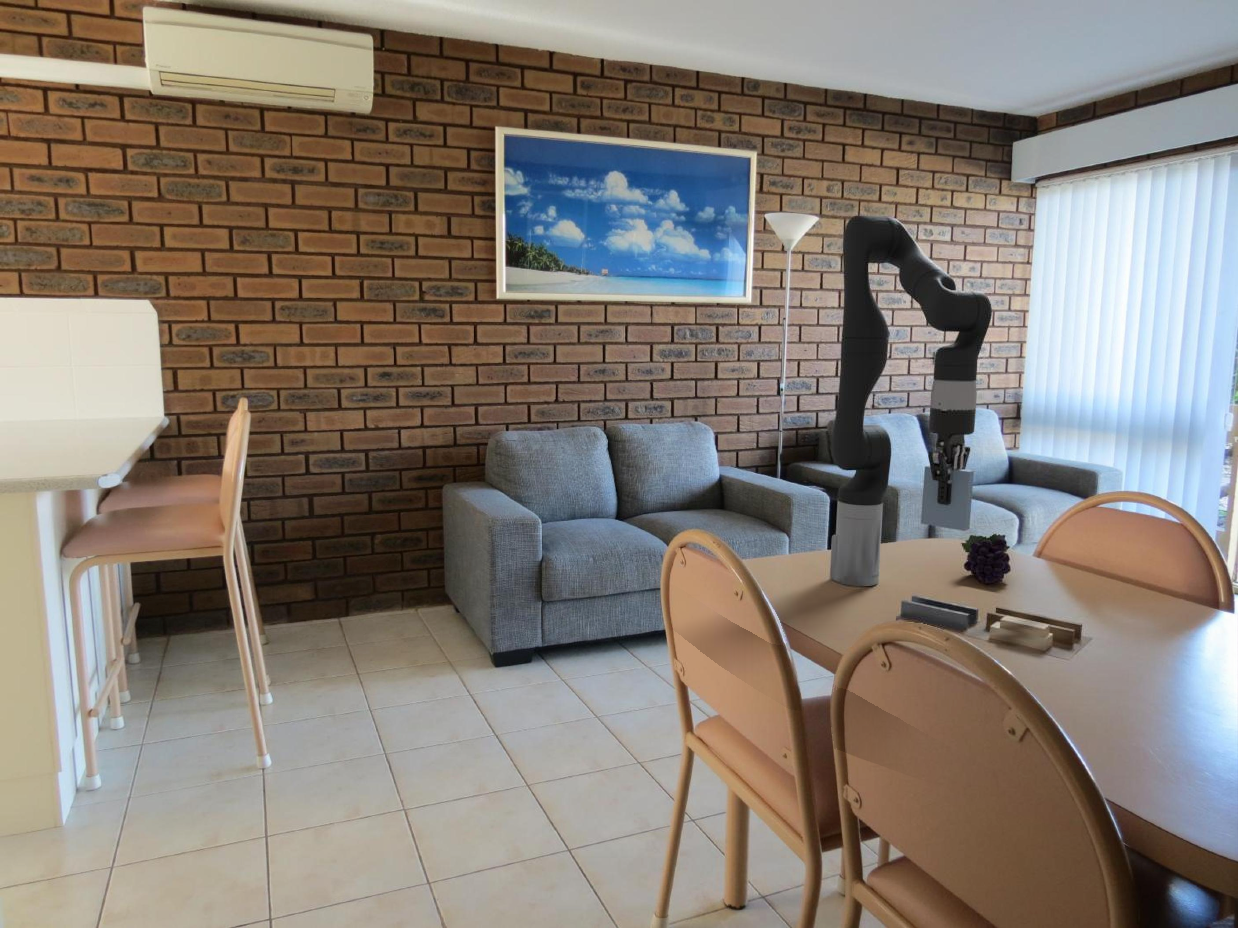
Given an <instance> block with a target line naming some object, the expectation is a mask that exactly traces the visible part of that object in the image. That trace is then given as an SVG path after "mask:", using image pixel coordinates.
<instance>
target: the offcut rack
mask: <svg viewBox="0 0 1238 928" xmlns="http://www.w3.org/2000/svg"><path fill="white" fill-rule="evenodd" d="M1006 615H1007V616H1012V617H1016V618H1021V619H1026V620H1030V621H1035V622H1040V623H1044V624H1049V625H1050V632H1049V633H1052V634H1053V640H1052V646H1051V647H1049V648H1048V649H1047V650H1046V651H1045V650H1040V649H1036V648H1032V647H1028V646H1023V645H1019V644H1015V643H1010V642H1006V641H1002V640H998V639H993V638H989V634H990V626H991V625H993V624H994V623H996V622H997V621H998V622H1000V619H1002V618H1003V617H1005V616H1006ZM1082 631H1083V623H1080V622H1076V621H1070V620H1067V619H1061V618H1056V617H1052V616H1047V615H1042V614H1037V613H1032V612H1028V611H1023V610H1018V609H1013V608H1009V607H1003V606H999V605H997V606H995V612H992V611H988V612H987V613H986V619H984V620H981V622H978V623H976V625H975V626H974V625H973V626H972V627H970V628H969V629H968V630H967V631H966V630H965V631H964V633H963V632H962V633H961V635H962V636H966V637H969V638H975V639H978V640H982V641H986V642H992V643H995V644H999V645H1002V646H1003V645H1004V646H1008V647H1012V648H1016V649H1020V650H1025V651H1027V652H1028V651H1029V652H1033V653H1037V654H1041V655H1046V656H1049V657H1050V656H1051V657H1054V658H1057V659H1062V660H1067V661H1070V660H1071V659H1072V658H1073V657H1075V655H1077V653H1078V652H1079V651H1081V650H1082V649H1083V648H1084V647H1085V646H1086V645H1087V644H1088V643H1090V641H1092V640H1093V638H1094V637H1089V636H1086V635H1082V634H1083V633H1082Z"/></svg>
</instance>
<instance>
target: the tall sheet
mask: <svg viewBox="0 0 1238 928" xmlns="http://www.w3.org/2000/svg"><path fill="white" fill-rule="evenodd" d="M974 475H975V470H972V469H966V468H965V469H956V470H955V471H953V481H952V489H951V503H950V504H949V505H944V504H939V503H938V502H937V497H938V483H937V481H936V480H933V478H932V473H931V468H930V464H929V465H925V466H924V473H923V476H924V477H923V485H922V487H923V489H922V502H921V503H922V504H921V516H920V524H921V525H927V526H933V527H938V528H939V527H940V528H945V529H952V530H956V531H957V530H958V531H962V532H965V531H968V530H970V523H971V511H972V500H973V498H972V497H973V489H974V488H973V487H974Z"/></svg>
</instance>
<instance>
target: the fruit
mask: <svg viewBox="0 0 1238 928" xmlns="http://www.w3.org/2000/svg"><path fill="white" fill-rule="evenodd" d="M960 545H961V548H963V550H964V552H965V553H967V556H966V561H965V563H964V564H963V568H964V570H966V571H967V572H970V574H971V575H972V576H974V577H977V578H978V579H979V581H981V583H982V584H984V585H985V584H993V583H995V581H1001V580H1003V579H1004V578H1005V575H1008V573H1010V572H1011V570H1012V569H1011V565H1010V563H1009V562H1010V561H1011V559H1010V558H1011V557H1010V555H1009V553H1007V552H1008V550H1009V549H1010V548H1011V546H1009V545H1007V540H1006V534H1002V535H1001V534H999V533H998V534H997V533H993V534H992V535H990V536H989V537H987V536H983V535H976V534H975V535H973V534H970V535H969V538H968V539H967V540H966V539H965V542H960Z"/></svg>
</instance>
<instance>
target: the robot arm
mask: <svg viewBox="0 0 1238 928" xmlns="http://www.w3.org/2000/svg"><path fill="white" fill-rule="evenodd" d="M842 239H843V240H842V262H843V266H842V267H843V289H844V290H843V313H842V315H843V317H842V329H841V330H842V331H841V341H840V342H841V344H840V345H841V346H840V369H839V370H840V371H839V385H838V395H837V396H838V397H837V398H838V399H837V403H836V404H837V406H836V412H835V419H834V425H833V432H832V438H831V452H832V458H833V460H834V463H835V464H836V466H837V467H838V468H839V469H841V470H843V471H855V473H854V475H853V476H852V478H851V479H850V480H848V481H847V482H845V483H843V484H842V485H841V486H840V487H839V488H838V490H837V506H836V507H837V509H836V525H835V526H836V528H835V533H834V534H833V535H832V536H831V543H830V544H831V545H830V547H831V549H830V566H829V567H830V568H829V579H830V580H834V581H835V582H837V583H839V584H842V585H847V586H853V587H872V586H876V585H878V583H879V582H880V581H879V580H880V579H879V577H880V563H881V561H880V560H881V547H882V546H881V545H882V544H881V543H882V542H881V541H882V530H883V529H882V526H883V509H884V498H885V497H884V496H885V495H886V492H887V490H888V485H889V477H890V469H891V461H892V460H891V459H892V443H891V438H890V437H891V436H890V435H889V433H888V431H887V430H886V429H885V428H884V427H883V426H880V425H877V424H867V425H866V424H865V425H864V423H865V422H864V419H865V410H866V406H867V402H868V400H869V397H870V395H871V393H872V391H873V389H874V388H875V386H876V385H877V382H878V381H879V379H880V377H882V376H881V375H882V374H883V372H884V370H885V368H886V366H887V361H888V353H889V352H888V351H889V350H888V349H889V335H890V332H889V327H888V324H887V321H886V318H885V317H884V313H883V312H882V310H881V308H880V306H879V305H878V302H877V301H876V298H875V297H874V295H873V292H872V290H871V284H870V276H869V274H870V273H869V264H878V265H879V264H880V265H881V264H890V265H892V266H894V267H896V268H897V269H899V270H898V279H899V282H900V285H901V287H902V289H903V291H904V292H906V293H907V294H908V295H909V296H910V297H911V298H912V299H913V300H914V301H915V302H916V303H917V304H919V306H920V308H921V311H922V313H923V315H924V317H925V320H926V322H927V323H928V325H929V326H930V327H932V328H933V329H935V330H937V331H940V332H947V333H948V332H949V333H951V332H953V333H955V332H958V333H957V336H956V338H955V340H954V342H953V343H951V344H950V345H945V346H941V347H940V348H937V350H936V351H935V354H934V364H933V365H934V366H933V381H932V387H931V391H930V405H929V421H928V423H929V424H928V431H929V432H930V433H933V434H936V435H937V438H936V440H935V441H936V442H935V446H934V451H929V452H928V461H929V465H930V468H931V473H932V478H933V480H936V481H937V483H938V497H937V502H938V503H939V504H944V505H949V504H950V503H951V489H952V481H953V471H955V470H956V469H965V470H966V467H967V464H968V461H969V456H970V453H971V447H970V446H966V443H965V442H966V441H965V436H968V435H969V436H970V435H973V433H974V432H975V427H976V426H975V425H976V424H975V423H976V414H977V413H976V412H977V411H976V410H977V398H978V397H977V395H978V391H977V390H978V389H977V375H978V359H979V355H980V352H981V351H982V350H981V349H982V347H983V344H984V341H985V339H986V335H987V332H988V329H989V327H990V324H991V321H992V320H991V319H992V315H993V314H992V313H993V309H992V303H991V302H990V301H991V300H990V299H989V297H988V296H987V294H986V293H984V292H982V291H978V290H957V285H956V282H955V280H954V279H953V278H952V276H951V275H950V274H948V273H947V272H946V271H945V270H943V269H942V268H941V267H940V266H939V265H938V264H936V263H935V262H934V261H932V260H931V259H930V258H929V257H928V256H927V255H926V254H925V252H924V251H923V250H922V249H921V247H920V245H918V243H917V242H916V240H915V239H914V238H913V237H912V235H911V234H910V232H909V231H908V230H907V228H906V227H905V225H904V224H903V223H902V222H900V221H899V220H898V219H897V218H895V217H892V216H891V217H890V216H881V215H869V214H867V215H865V214H864V215H863V214H857V215H854V216H852V217H851V218H850V219H849V220H848V221H847V223H846V226H845V229H844V232H843V238H842Z"/></svg>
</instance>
